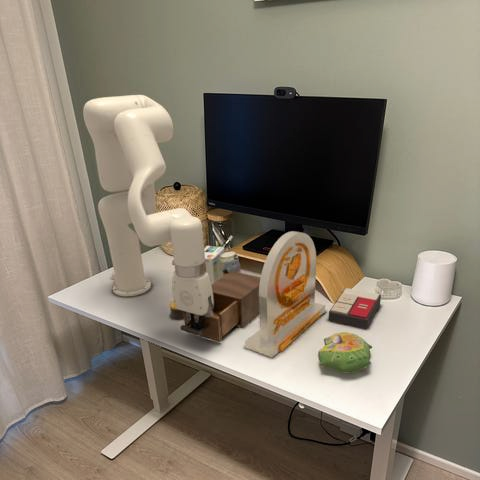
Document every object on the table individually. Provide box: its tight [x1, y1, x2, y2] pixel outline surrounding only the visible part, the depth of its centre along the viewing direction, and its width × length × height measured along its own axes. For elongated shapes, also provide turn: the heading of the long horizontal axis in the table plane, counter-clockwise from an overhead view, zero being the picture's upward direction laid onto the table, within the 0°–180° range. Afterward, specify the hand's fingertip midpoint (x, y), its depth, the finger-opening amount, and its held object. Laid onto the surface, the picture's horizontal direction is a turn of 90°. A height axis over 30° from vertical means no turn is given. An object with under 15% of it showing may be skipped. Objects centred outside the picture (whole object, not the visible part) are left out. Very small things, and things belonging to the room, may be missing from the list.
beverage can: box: [220, 251, 242, 276], centre depth 147 cm, size 6×7×12 cm
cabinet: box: [211, 271, 261, 328], centre depth 134 cm, size 15×13×9 cm
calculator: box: [328, 287, 382, 330], centre depth 131 cm, size 11×4×15 cm
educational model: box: [317, 331, 373, 374], centre depth 111 cm, size 13×16×5 cm
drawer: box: [179, 295, 240, 343], centre depth 124 cm, size 18×11×7 cm, turn 148°
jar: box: [169, 300, 184, 321], centre depth 134 cm, size 5×5×4 cm
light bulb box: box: [204, 245, 226, 285], centre depth 152 cm, size 11×7×11 cm, turn 160°
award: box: [244, 230, 326, 359], centre depth 119 cm, size 28×9×28 cm, turn 143°
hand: (197, 331), depth 120 cm, fingers closed
